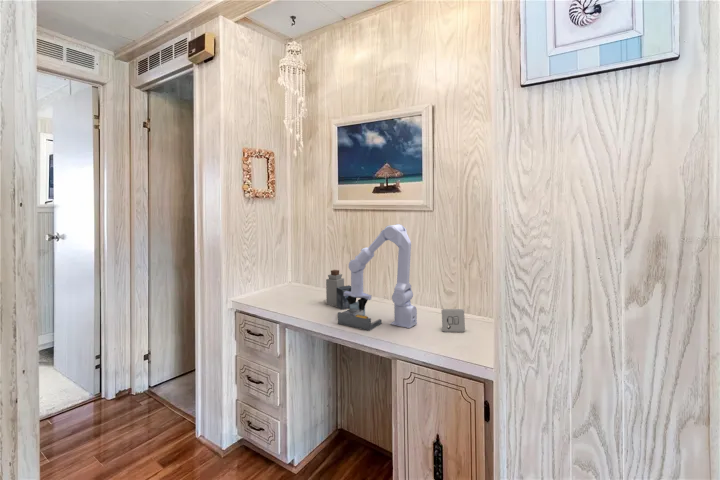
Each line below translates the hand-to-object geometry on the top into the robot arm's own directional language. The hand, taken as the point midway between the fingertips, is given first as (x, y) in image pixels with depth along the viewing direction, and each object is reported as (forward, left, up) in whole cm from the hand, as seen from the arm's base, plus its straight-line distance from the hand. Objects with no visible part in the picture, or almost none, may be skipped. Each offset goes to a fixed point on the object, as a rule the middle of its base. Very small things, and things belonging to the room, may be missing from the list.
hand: (357, 312), depth 176 cm
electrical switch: (-44, -6, -2) cm, 44 cm away
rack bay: (-7, +9, -2) cm, 11 cm away
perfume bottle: (+21, -10, -2) cm, 24 cm away
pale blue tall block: (0, 0, -2) cm, 2 cm away
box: (+13, -8, -2) cm, 16 cm away
